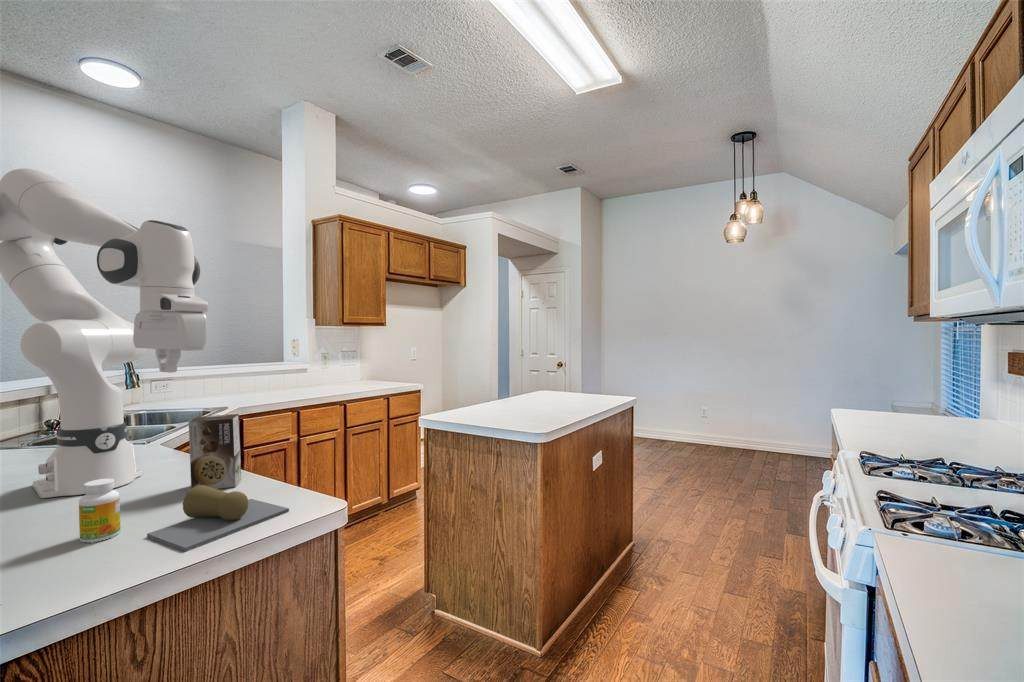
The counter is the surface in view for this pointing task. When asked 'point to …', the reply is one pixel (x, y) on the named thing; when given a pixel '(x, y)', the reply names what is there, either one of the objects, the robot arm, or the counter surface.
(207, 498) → the cork
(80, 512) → the supplement bottle
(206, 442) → the coffee box
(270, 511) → the rubber mat
